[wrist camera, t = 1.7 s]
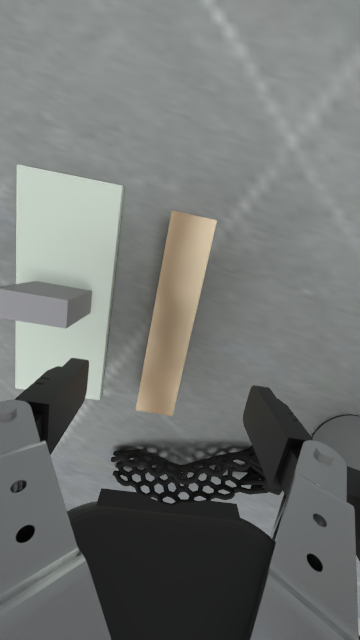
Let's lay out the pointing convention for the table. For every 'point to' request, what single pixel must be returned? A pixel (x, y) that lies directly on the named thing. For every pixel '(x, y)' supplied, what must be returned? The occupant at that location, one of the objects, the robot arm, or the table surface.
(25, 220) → the fulcrum
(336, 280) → the table surface
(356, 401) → the table surface
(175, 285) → the plank
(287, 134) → the table surface
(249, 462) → the decorative element
